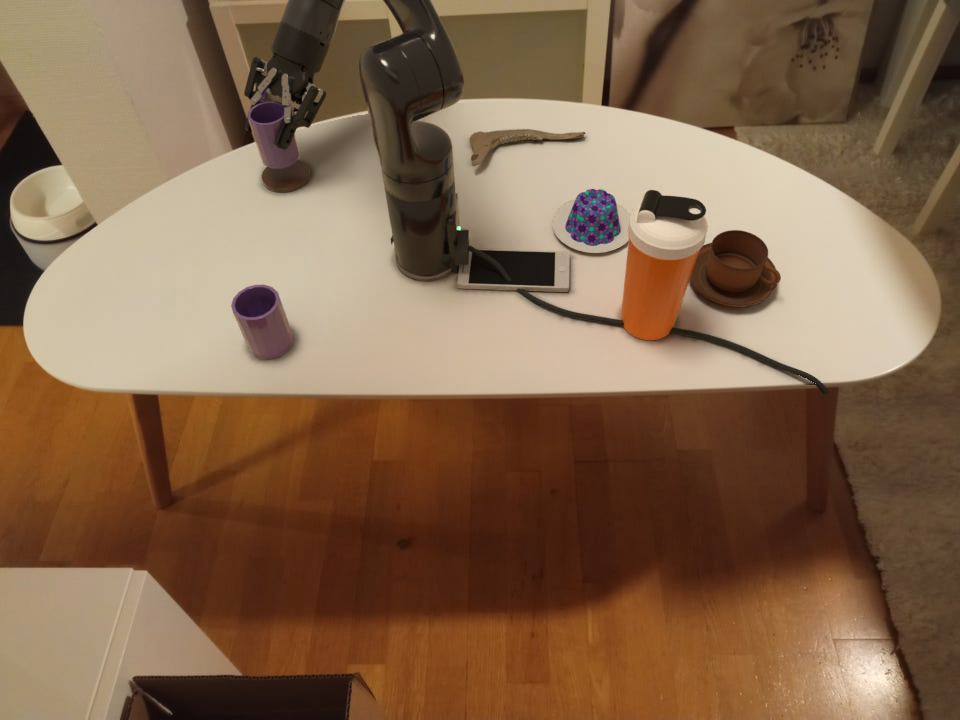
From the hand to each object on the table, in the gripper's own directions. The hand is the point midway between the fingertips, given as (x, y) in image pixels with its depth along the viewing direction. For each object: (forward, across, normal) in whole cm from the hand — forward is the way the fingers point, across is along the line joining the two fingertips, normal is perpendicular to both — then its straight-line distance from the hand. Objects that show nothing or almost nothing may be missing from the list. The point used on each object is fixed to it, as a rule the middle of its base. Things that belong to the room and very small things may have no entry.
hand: (265, 139), depth 115 cm
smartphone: (+1, +42, +11) cm, 43 cm away
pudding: (-9, +46, +21) cm, 51 cm away
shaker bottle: (-2, +62, +13) cm, 63 cm away
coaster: (+5, 0, +7) cm, 8 cm away
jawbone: (-15, +27, +27) cm, 41 cm away
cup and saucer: (-11, +67, +22) cm, 71 cm away
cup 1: (+2, 0, +4) cm, 5 cm away
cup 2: (+22, +24, -10) cm, 34 cm away
